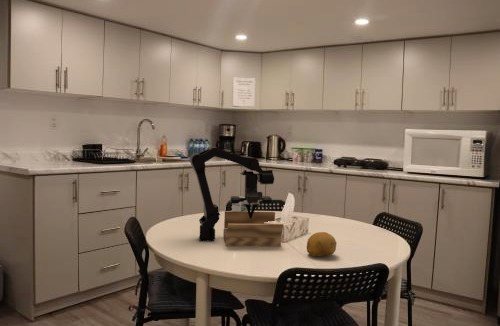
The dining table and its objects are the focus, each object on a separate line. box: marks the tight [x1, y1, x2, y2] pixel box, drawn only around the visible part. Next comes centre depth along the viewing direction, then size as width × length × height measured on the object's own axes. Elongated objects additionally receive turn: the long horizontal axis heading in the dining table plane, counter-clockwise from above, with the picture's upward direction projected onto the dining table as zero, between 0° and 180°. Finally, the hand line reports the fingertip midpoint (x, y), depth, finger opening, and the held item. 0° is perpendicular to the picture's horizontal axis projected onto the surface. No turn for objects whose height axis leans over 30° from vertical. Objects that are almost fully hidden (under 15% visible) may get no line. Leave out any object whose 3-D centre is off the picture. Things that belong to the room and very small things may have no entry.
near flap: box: [226, 223, 284, 239], centre depth 184 cm, size 8×24×1 cm
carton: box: [223, 228, 282, 247], centre depth 194 cm, size 24×15×4 cm, turn 98°
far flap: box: [223, 210, 276, 229], centre depth 201 cm, size 8×24×1 cm
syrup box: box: [231, 195, 248, 212], centre depth 226 cm, size 6×6×14 cm
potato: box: [306, 231, 337, 257], centre depth 176 cm, size 10×12×10 cm
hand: (250, 218), depth 199 cm, fingers closed, pressing on far flap
